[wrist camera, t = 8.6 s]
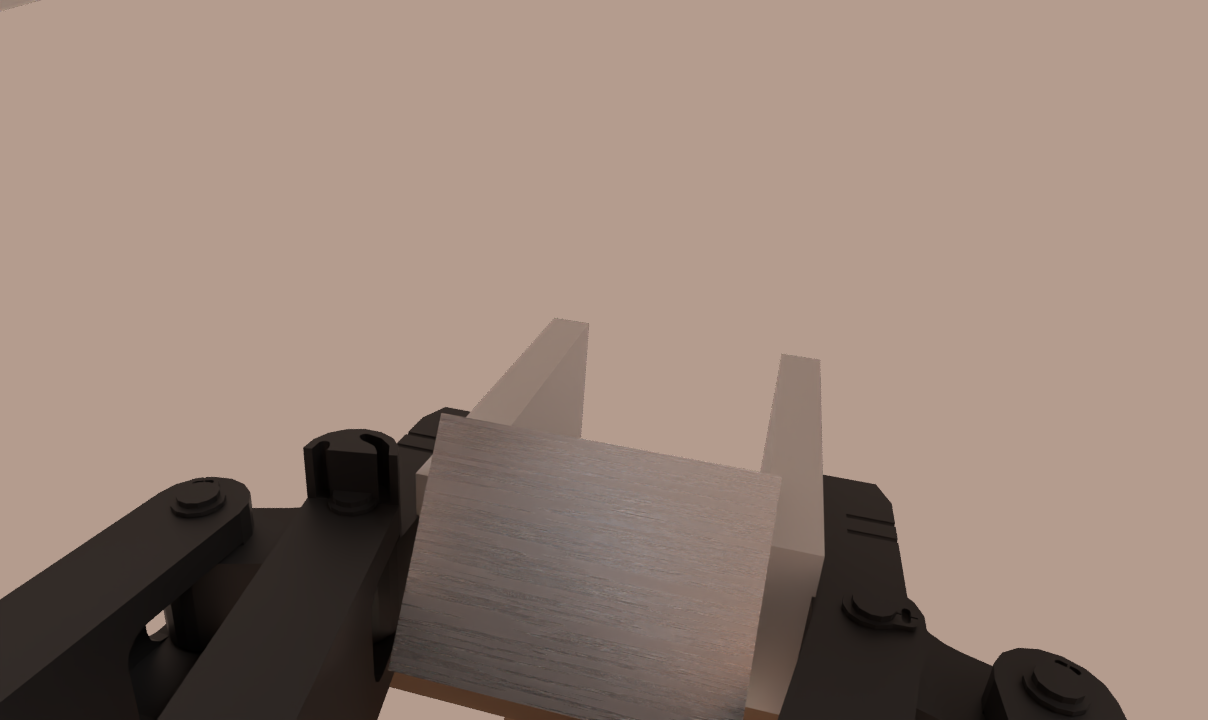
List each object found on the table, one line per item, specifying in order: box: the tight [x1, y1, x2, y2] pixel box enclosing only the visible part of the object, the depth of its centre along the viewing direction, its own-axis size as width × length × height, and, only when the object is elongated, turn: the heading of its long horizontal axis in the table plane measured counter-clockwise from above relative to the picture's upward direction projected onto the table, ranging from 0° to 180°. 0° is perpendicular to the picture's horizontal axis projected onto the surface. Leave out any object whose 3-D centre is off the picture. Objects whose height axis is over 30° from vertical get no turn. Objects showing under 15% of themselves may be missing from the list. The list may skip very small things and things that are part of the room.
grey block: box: [388, 413, 782, 720], centre depth 21 cm, size 24×4×3 cm, turn 170°
